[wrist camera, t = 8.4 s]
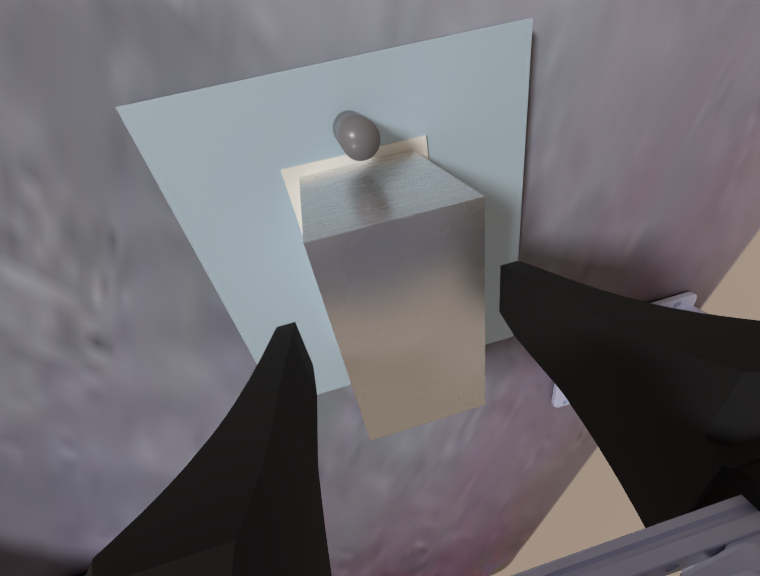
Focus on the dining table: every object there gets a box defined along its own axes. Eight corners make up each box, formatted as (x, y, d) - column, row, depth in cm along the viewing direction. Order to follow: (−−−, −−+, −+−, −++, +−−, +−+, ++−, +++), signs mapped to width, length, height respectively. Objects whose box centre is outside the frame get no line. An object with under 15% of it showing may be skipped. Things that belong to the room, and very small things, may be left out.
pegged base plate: (516, 21, 12) (584, 5, 10) (504, 326, 21) (538, 366, 18) (128, 104, 11) (72, 115, 8) (280, 391, 20) (278, 446, 17)
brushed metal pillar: (411, 149, 13) (484, 196, 8) (430, 310, 17) (485, 404, 13) (299, 176, 13) (303, 243, 8) (347, 334, 17) (370, 440, 12)
